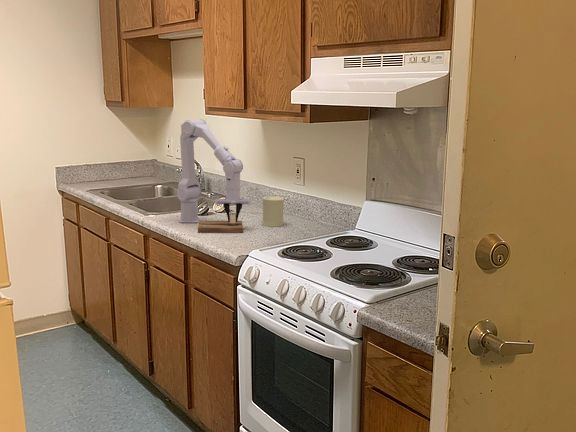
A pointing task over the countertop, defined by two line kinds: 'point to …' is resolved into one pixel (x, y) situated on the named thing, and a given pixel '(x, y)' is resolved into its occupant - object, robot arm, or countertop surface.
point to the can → (273, 211)
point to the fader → (232, 218)
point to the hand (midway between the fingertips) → (232, 221)
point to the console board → (219, 227)
